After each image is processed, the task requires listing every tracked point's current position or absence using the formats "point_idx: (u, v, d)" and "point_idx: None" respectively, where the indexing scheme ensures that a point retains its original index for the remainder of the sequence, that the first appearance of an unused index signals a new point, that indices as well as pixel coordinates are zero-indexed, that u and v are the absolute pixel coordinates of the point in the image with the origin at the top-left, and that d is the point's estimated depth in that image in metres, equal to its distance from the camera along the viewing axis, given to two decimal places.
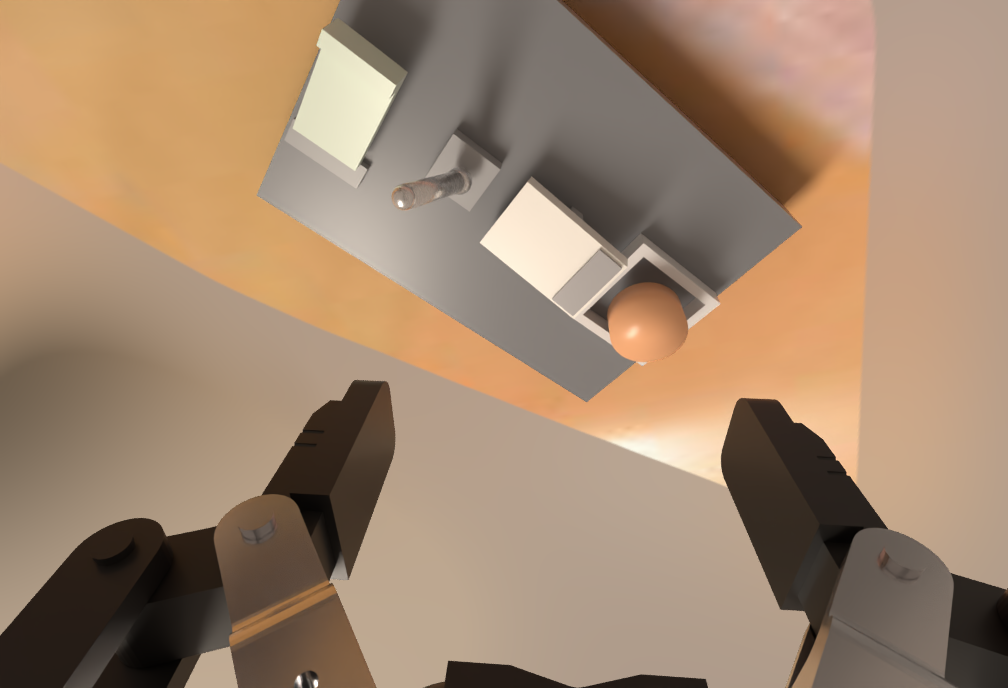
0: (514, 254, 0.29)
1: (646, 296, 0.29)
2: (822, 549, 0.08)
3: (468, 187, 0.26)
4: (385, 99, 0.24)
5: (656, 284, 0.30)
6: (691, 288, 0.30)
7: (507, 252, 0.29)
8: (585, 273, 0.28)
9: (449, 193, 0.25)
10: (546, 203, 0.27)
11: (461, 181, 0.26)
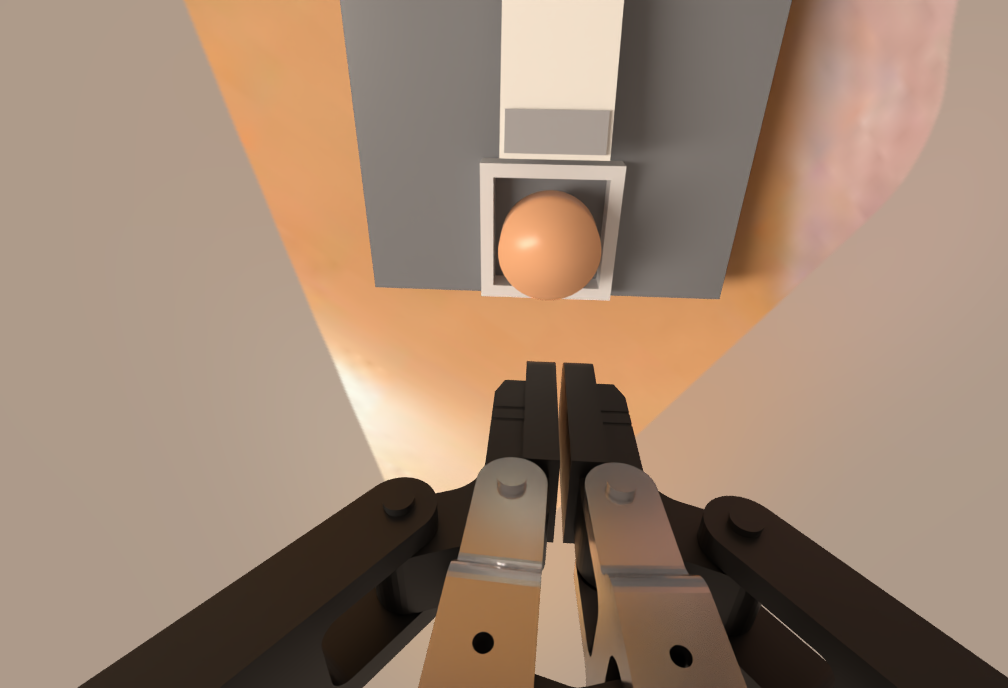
0: (523, 10, 0.19)
1: (586, 214, 0.21)
2: (581, 484, 0.09)
3: None
4: None
5: (593, 219, 0.23)
6: (607, 259, 0.24)
7: None
8: (569, 119, 0.20)
9: None
10: None
11: None
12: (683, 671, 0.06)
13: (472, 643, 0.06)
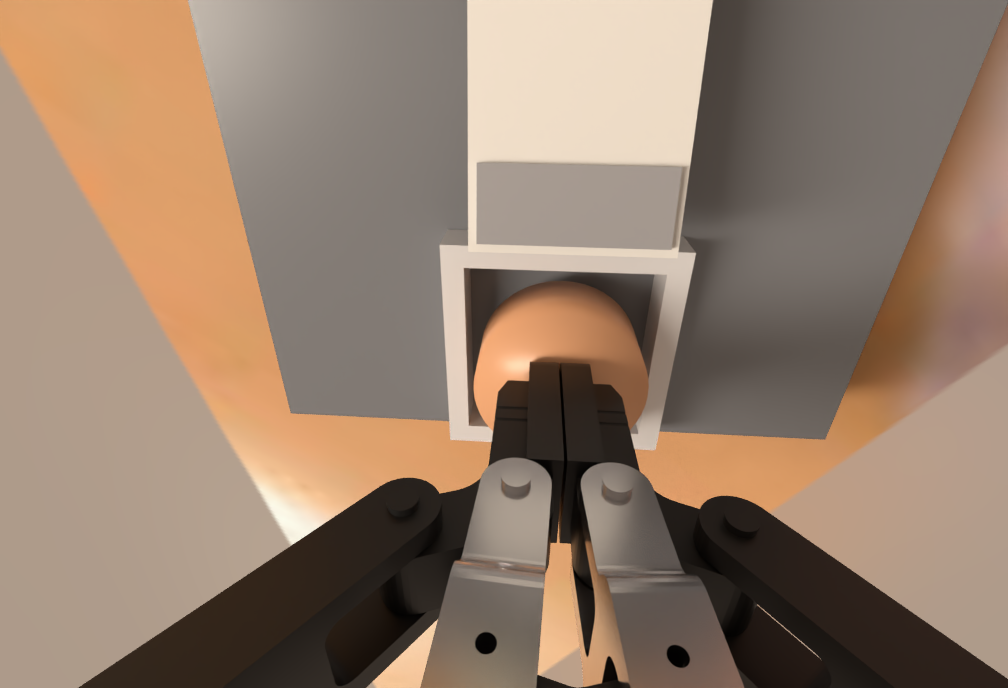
0: None
1: (624, 329, 0.13)
2: (577, 484, 0.09)
3: None
4: None
5: None
6: (654, 393, 0.15)
7: None
8: (601, 183, 0.10)
9: None
10: None
11: None
12: (680, 672, 0.06)
13: (474, 645, 0.06)
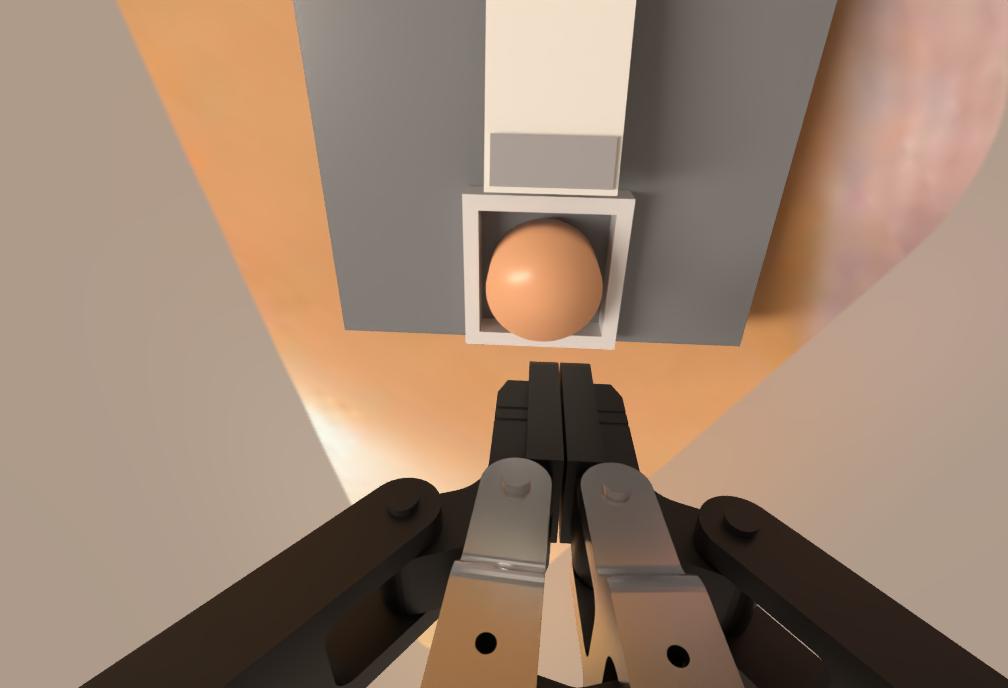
0: (512, 15, 0.15)
1: (586, 247, 0.19)
2: (577, 483, 0.09)
3: None
4: None
5: (593, 250, 0.20)
6: (612, 304, 0.21)
7: (506, 0, 0.15)
8: (568, 147, 0.16)
9: None
10: None
11: None
12: (681, 672, 0.06)
13: (474, 643, 0.06)
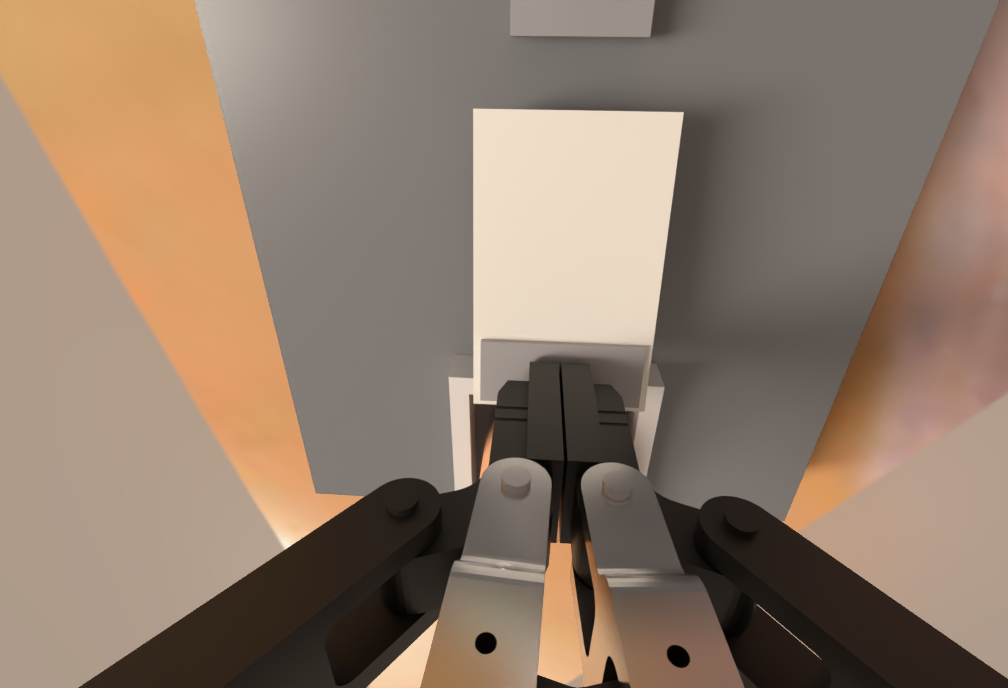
0: (508, 202, 0.11)
1: None
2: (577, 484, 0.09)
3: None
4: None
5: None
6: None
7: (500, 185, 0.11)
8: (581, 359, 0.12)
9: None
10: (662, 186, 0.11)
11: None
12: (680, 672, 0.06)
13: (474, 645, 0.06)
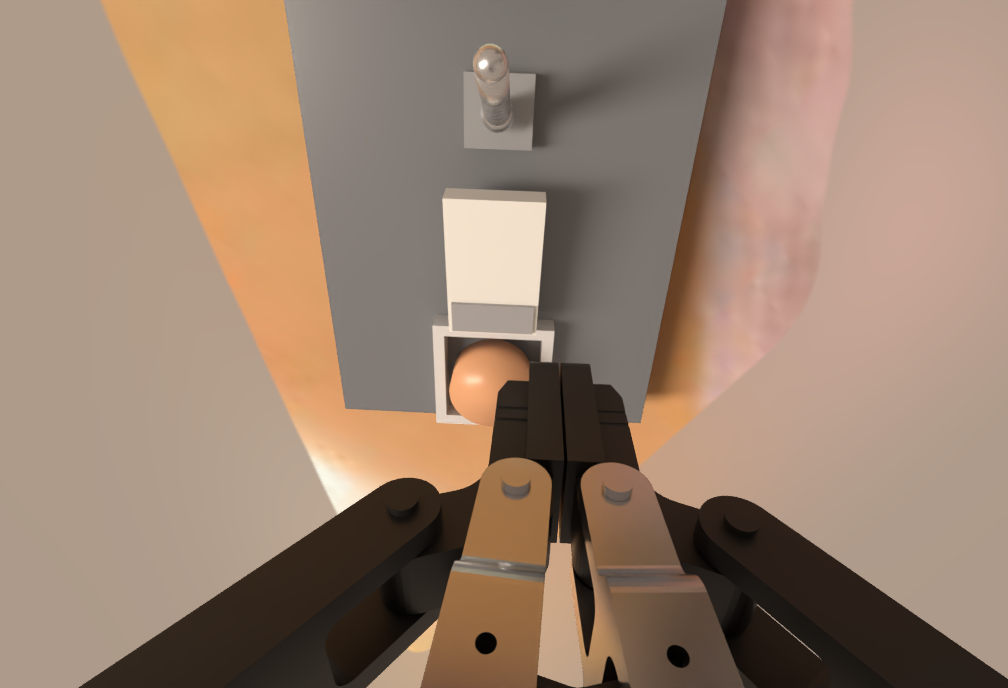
0: (462, 240, 0.23)
1: (520, 364, 0.27)
2: (577, 484, 0.09)
3: (501, 130, 0.21)
4: None
5: (528, 361, 0.28)
6: None
7: (457, 232, 0.23)
8: (502, 312, 0.25)
9: (495, 114, 0.19)
10: (538, 234, 0.22)
11: (506, 118, 0.20)
12: (680, 672, 0.06)
13: (475, 643, 0.06)
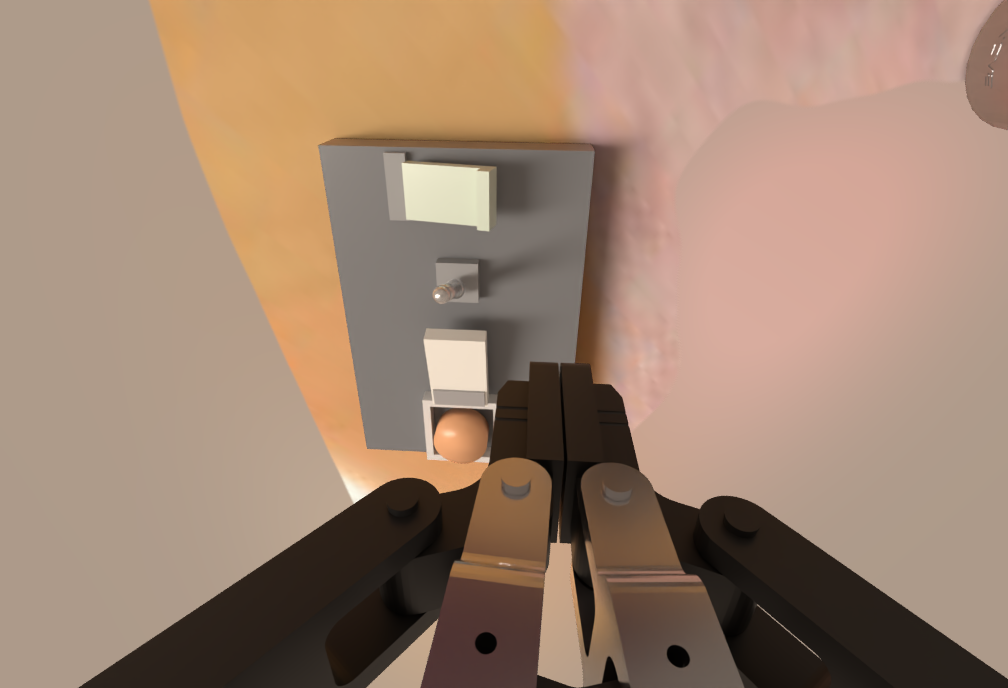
0: (436, 359, 0.38)
1: (478, 425, 0.41)
2: (577, 484, 0.09)
3: (457, 298, 0.36)
4: (472, 222, 0.33)
5: (485, 421, 0.43)
6: None
7: (434, 355, 0.37)
8: (464, 395, 0.40)
9: None
10: (482, 356, 0.37)
11: (459, 294, 0.35)
12: (680, 672, 0.06)
13: (475, 644, 0.06)
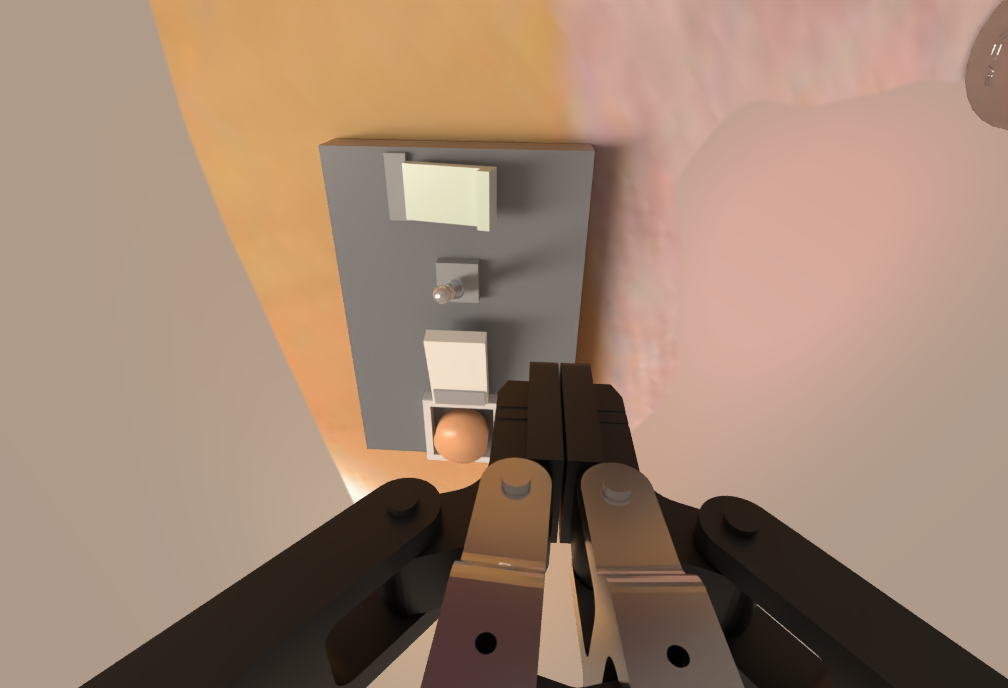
0: (437, 360, 0.38)
1: (478, 425, 0.41)
2: (577, 484, 0.09)
3: (457, 298, 0.36)
4: (472, 222, 0.33)
5: (485, 421, 0.43)
6: None
7: (434, 356, 0.37)
8: (465, 394, 0.40)
9: None
10: (482, 358, 0.37)
11: (459, 294, 0.35)
12: (680, 672, 0.06)
13: (474, 643, 0.06)
